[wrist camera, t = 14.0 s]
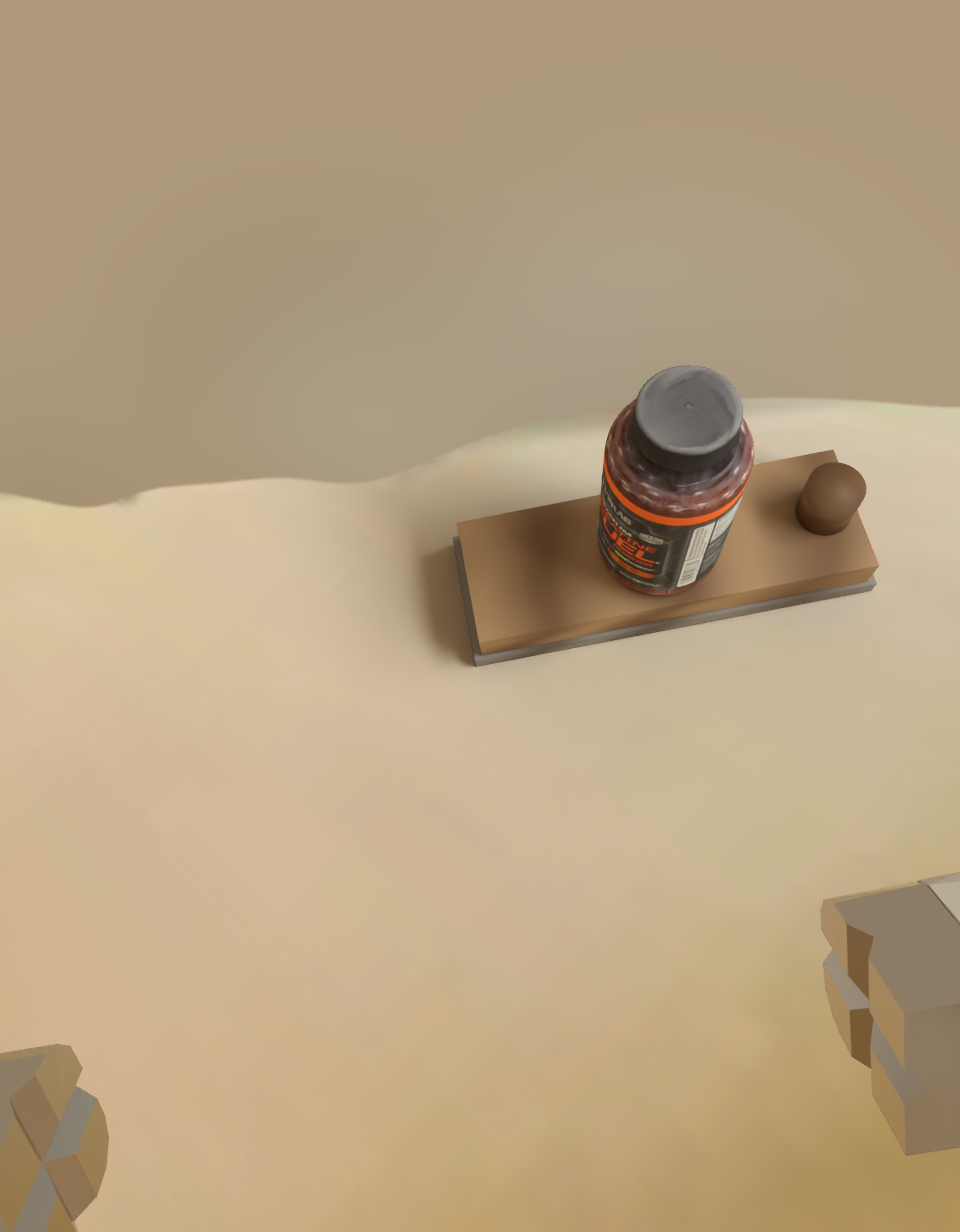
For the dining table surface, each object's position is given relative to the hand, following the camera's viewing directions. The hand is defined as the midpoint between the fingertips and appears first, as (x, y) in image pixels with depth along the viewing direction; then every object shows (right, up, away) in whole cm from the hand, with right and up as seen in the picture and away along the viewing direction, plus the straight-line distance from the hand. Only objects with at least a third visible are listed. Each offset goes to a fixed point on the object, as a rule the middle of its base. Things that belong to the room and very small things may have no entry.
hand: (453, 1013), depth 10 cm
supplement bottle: (+9, +8, +34) cm, 36 cm away
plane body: (+9, +7, +36) cm, 38 cm away
